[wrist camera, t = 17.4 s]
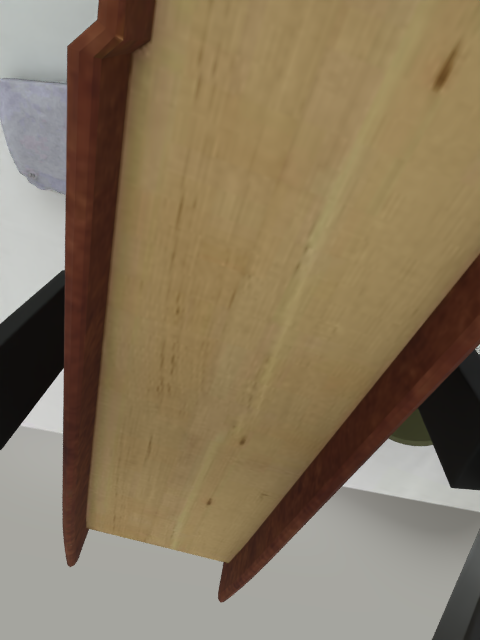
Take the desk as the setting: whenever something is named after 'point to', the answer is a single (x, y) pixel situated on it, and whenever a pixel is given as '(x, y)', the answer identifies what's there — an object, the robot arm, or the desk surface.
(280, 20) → the decorative book
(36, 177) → the stone block
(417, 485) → the desk surface
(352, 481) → the desk surface
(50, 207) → the desk surface
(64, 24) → the desk surface
